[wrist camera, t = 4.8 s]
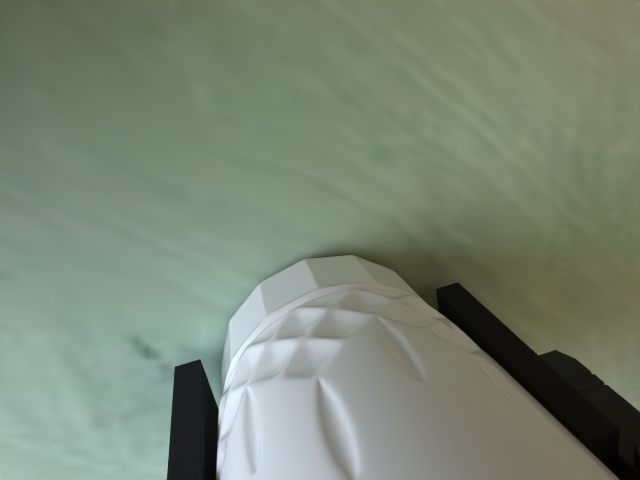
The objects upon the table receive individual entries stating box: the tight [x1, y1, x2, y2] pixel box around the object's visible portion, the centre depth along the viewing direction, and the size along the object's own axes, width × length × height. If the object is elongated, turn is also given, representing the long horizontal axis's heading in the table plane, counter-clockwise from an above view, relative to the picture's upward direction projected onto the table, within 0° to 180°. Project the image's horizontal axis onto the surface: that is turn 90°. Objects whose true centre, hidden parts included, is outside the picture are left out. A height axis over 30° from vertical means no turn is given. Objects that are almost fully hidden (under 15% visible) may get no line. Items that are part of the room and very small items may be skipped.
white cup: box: [216, 255, 620, 480], centre depth 11 cm, size 8×8×10 cm
